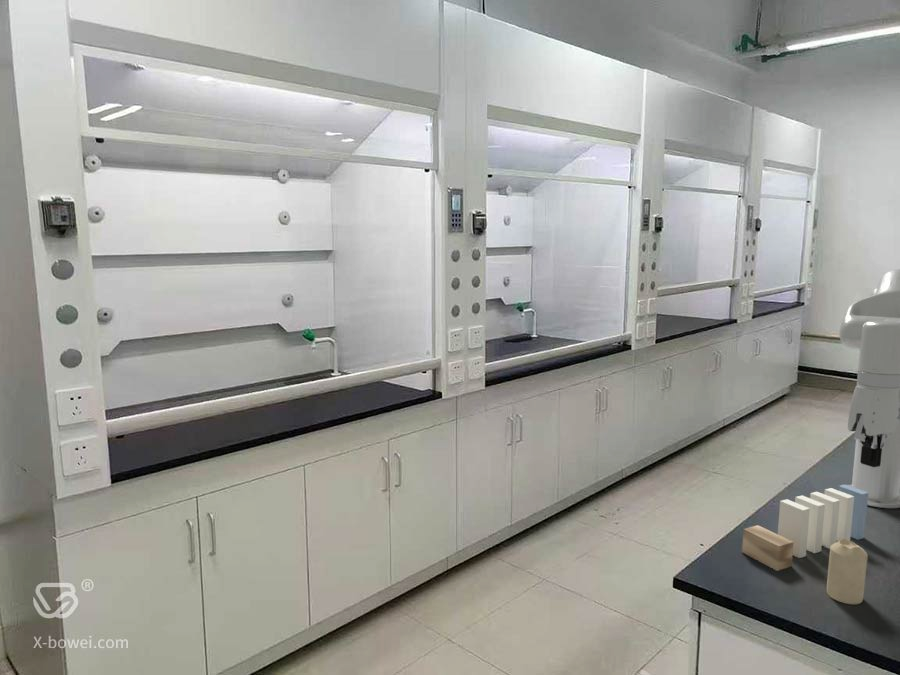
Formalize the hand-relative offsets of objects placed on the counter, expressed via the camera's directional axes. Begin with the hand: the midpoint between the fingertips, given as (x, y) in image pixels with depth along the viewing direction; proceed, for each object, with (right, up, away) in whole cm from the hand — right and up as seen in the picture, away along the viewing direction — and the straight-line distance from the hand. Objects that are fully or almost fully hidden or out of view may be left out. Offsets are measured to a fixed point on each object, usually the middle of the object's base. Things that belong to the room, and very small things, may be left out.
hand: (870, 464), depth 134 cm
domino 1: (-20, -16, -7) cm, 27 cm away
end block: (-27, -17, -10) cm, 33 cm away
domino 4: (-8, -15, -1) cm, 17 cm away
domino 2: (-16, -16, -5) cm, 23 cm away
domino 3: (-12, -16, -3) cm, 20 cm away
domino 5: (-4, -15, +1) cm, 15 cm away
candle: (-20, -19, -23) cm, 35 cm away
